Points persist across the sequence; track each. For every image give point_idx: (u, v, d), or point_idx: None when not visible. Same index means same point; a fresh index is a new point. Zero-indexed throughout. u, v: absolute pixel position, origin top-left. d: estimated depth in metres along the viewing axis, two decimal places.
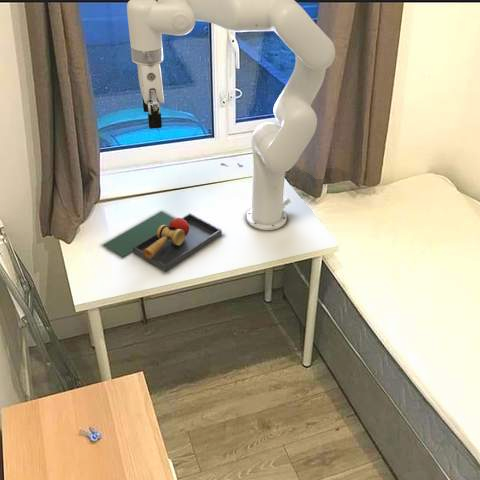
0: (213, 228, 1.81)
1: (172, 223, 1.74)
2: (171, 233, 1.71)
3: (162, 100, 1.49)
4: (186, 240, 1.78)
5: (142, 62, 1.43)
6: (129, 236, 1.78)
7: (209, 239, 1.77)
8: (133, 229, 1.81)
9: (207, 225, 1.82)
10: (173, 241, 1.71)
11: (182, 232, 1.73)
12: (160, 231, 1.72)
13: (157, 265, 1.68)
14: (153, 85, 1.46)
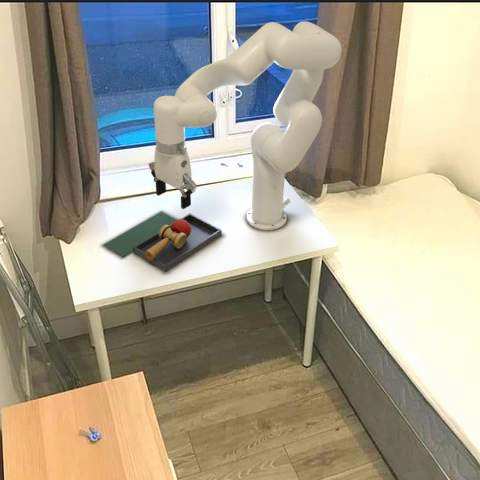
0: (213, 228, 1.81)
1: (175, 225, 1.74)
2: (174, 236, 1.71)
3: None
4: (186, 240, 1.78)
5: (175, 153, 1.54)
6: (129, 236, 1.78)
7: (209, 239, 1.77)
8: (133, 229, 1.81)
9: (207, 225, 1.82)
10: (175, 244, 1.71)
11: (184, 236, 1.73)
12: (163, 232, 1.72)
13: (157, 265, 1.68)
14: (186, 170, 1.58)
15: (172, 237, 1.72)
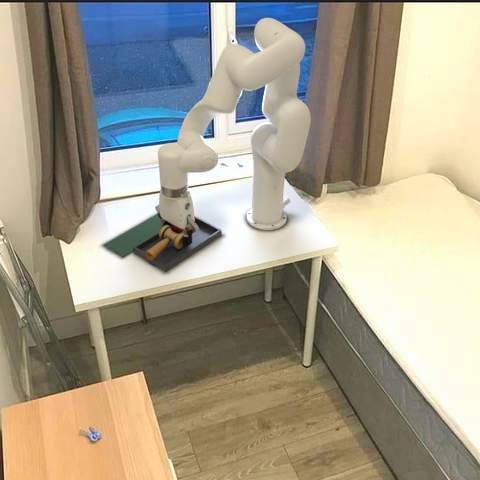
0: (213, 228, 1.81)
1: None
2: (174, 236, 1.71)
3: (194, 221, 1.70)
4: None
5: (179, 197, 1.62)
6: (129, 236, 1.78)
7: (209, 239, 1.77)
8: (133, 229, 1.81)
9: (207, 225, 1.82)
10: (175, 245, 1.71)
11: None
12: (163, 232, 1.72)
13: (157, 265, 1.68)
14: (189, 212, 1.66)
15: (172, 237, 1.71)
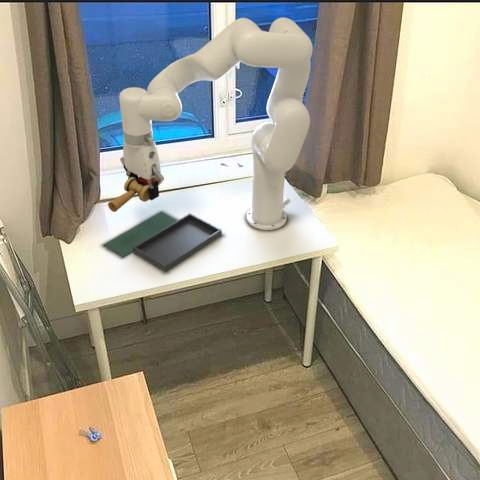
0: (213, 228, 1.81)
1: None
2: (139, 188, 1.65)
3: (160, 172, 1.64)
4: (186, 240, 1.78)
5: (142, 144, 1.56)
6: (129, 236, 1.78)
7: (209, 239, 1.77)
8: (133, 229, 1.81)
9: (207, 225, 1.82)
10: (140, 197, 1.65)
11: None
12: (128, 184, 1.66)
13: (157, 265, 1.68)
14: (154, 161, 1.60)
15: (138, 189, 1.65)
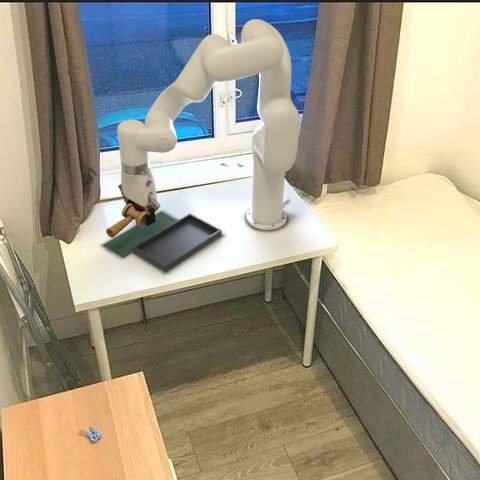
0: (213, 228, 1.81)
1: None
2: (136, 214, 1.72)
3: (156, 199, 1.70)
4: (186, 240, 1.78)
5: (139, 174, 1.63)
6: (129, 236, 1.78)
7: (209, 239, 1.77)
8: (133, 229, 1.81)
9: (207, 225, 1.82)
10: (137, 223, 1.71)
11: None
12: (126, 211, 1.72)
13: (157, 265, 1.68)
14: (150, 189, 1.66)
15: (135, 216, 1.72)
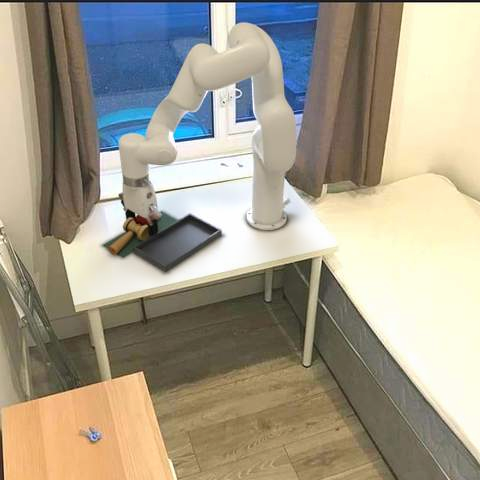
0: (213, 228, 1.81)
1: (139, 217, 1.76)
2: (137, 229, 1.75)
3: (157, 210, 1.73)
4: (186, 240, 1.78)
5: (140, 186, 1.65)
6: None
7: (209, 239, 1.77)
8: None
9: (207, 225, 1.82)
10: (138, 237, 1.74)
11: None
12: (127, 225, 1.75)
13: (157, 265, 1.68)
14: (151, 201, 1.69)
15: (136, 230, 1.75)
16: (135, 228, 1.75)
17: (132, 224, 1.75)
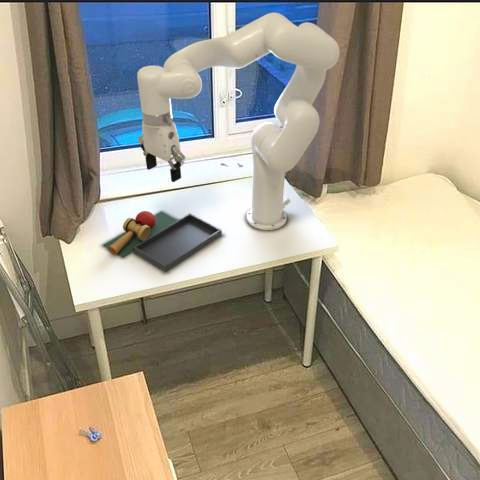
0: (213, 228, 1.81)
1: (139, 217, 1.76)
2: (137, 229, 1.75)
3: None
4: (186, 240, 1.78)
5: (161, 125, 1.52)
6: None
7: (209, 239, 1.77)
8: None
9: (207, 225, 1.82)
10: (138, 237, 1.74)
11: (148, 228, 1.76)
12: (127, 225, 1.75)
13: (157, 265, 1.68)
14: (173, 142, 1.56)
15: (136, 230, 1.75)
16: (135, 228, 1.75)
17: (132, 224, 1.75)
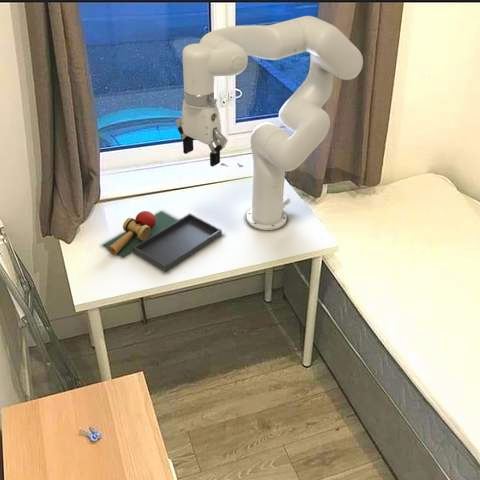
0: (213, 228, 1.81)
1: (139, 217, 1.76)
2: (137, 229, 1.75)
3: None
4: (186, 240, 1.78)
5: (205, 105, 1.46)
6: None
7: (209, 239, 1.77)
8: None
9: (207, 225, 1.82)
10: (138, 237, 1.74)
11: (148, 228, 1.76)
12: (127, 225, 1.75)
13: (157, 265, 1.68)
14: (215, 124, 1.50)
15: (136, 230, 1.75)
16: (135, 228, 1.75)
17: (132, 224, 1.75)
